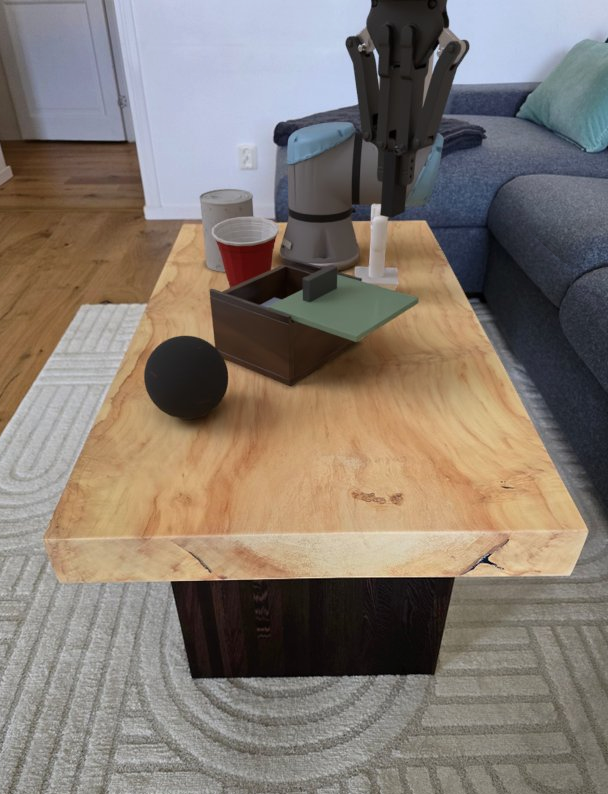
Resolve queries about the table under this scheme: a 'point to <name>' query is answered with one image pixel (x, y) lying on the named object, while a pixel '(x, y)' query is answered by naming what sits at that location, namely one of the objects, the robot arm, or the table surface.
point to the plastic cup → (245, 246)
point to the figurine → (378, 254)
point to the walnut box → (272, 326)
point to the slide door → (343, 304)
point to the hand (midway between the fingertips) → (392, 213)
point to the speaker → (186, 377)
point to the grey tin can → (221, 218)
